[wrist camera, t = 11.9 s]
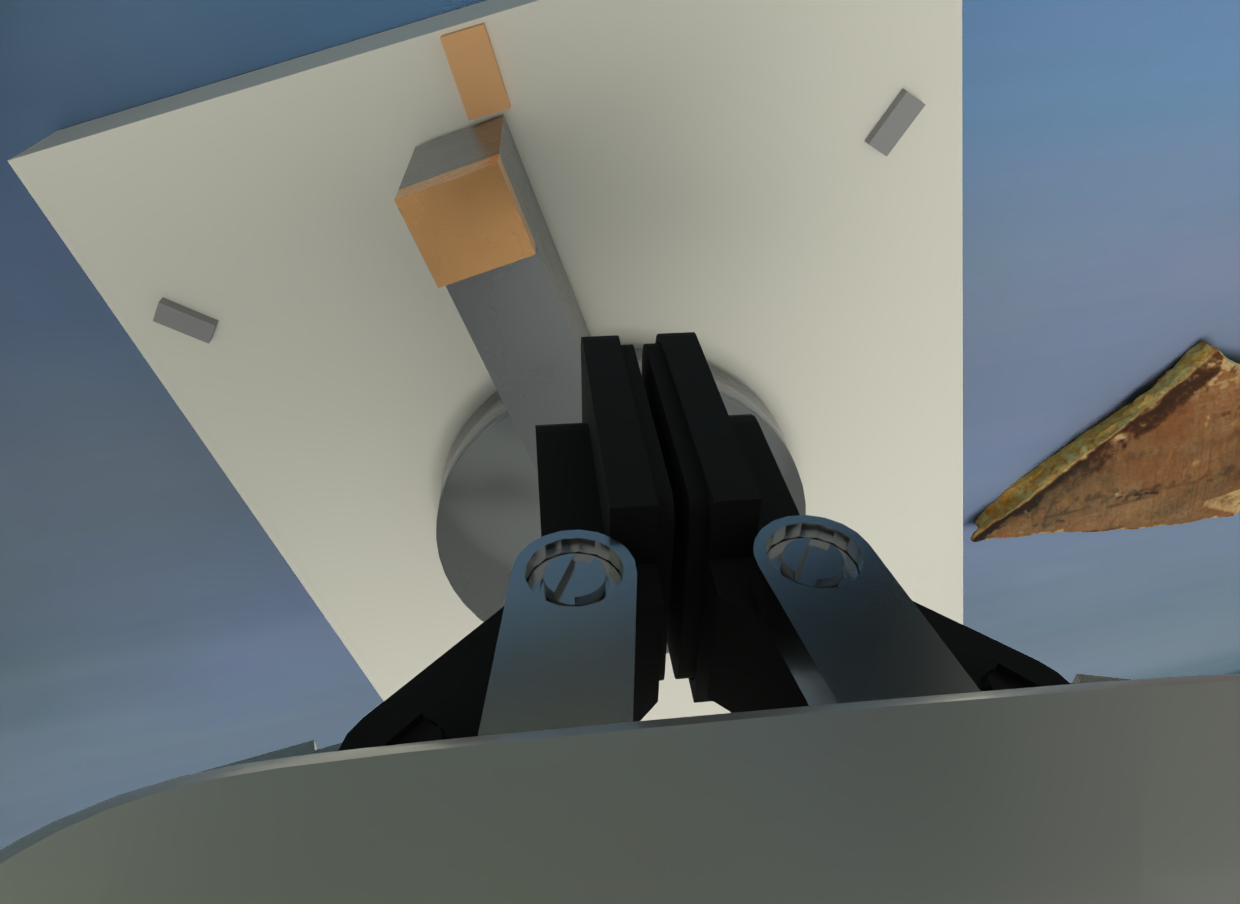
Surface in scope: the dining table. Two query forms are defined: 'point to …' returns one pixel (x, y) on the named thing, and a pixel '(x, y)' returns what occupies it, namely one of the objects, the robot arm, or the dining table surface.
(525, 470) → the dial
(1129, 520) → the shard
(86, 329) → the dining table surface
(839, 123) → the board
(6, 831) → the dining table surface
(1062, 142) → the dining table surface
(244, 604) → the dining table surface
